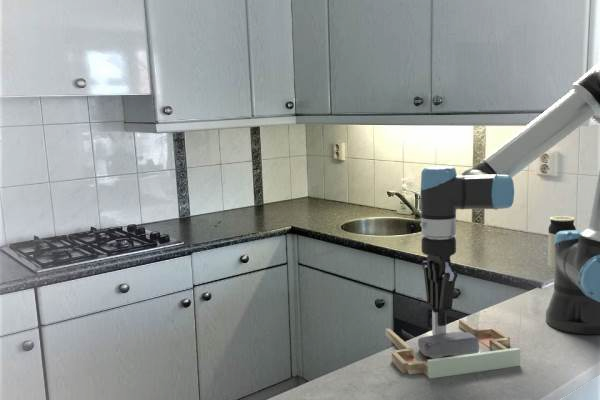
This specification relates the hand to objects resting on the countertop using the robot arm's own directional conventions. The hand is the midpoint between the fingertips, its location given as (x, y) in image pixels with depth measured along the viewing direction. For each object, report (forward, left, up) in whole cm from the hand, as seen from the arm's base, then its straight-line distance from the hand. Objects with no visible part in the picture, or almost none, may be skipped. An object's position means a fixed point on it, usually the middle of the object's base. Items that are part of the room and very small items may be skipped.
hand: (439, 337), depth 133 cm
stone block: (0, +1, +1) cm, 1 cm away
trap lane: (0, +4, -1) cm, 4 cm away
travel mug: (-64, -44, -2) cm, 78 cm away
